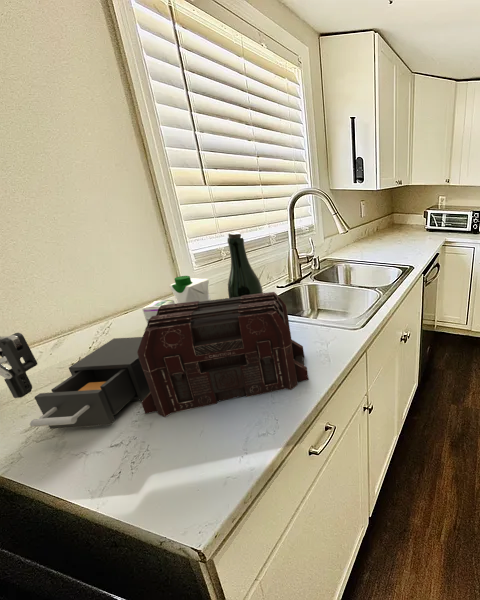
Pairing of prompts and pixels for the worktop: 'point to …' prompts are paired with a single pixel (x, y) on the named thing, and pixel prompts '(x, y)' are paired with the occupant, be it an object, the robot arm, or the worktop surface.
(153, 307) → the syrup box
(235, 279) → the beer bottle
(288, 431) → the worktop surface
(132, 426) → the worktop surface
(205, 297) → the milk carton
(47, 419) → the drawer
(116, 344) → the dark grey box shell
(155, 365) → the crate
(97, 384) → the orange block
